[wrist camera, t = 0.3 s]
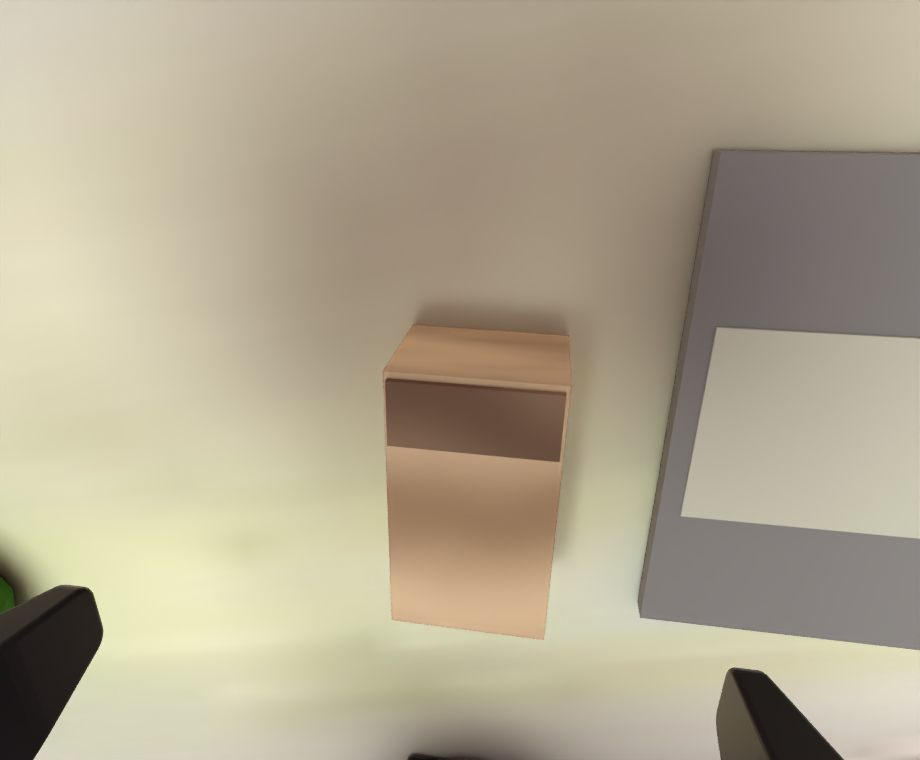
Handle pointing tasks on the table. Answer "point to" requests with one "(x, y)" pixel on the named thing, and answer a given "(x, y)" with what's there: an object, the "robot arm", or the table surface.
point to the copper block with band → (474, 476)
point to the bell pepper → (6, 596)
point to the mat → (797, 405)
